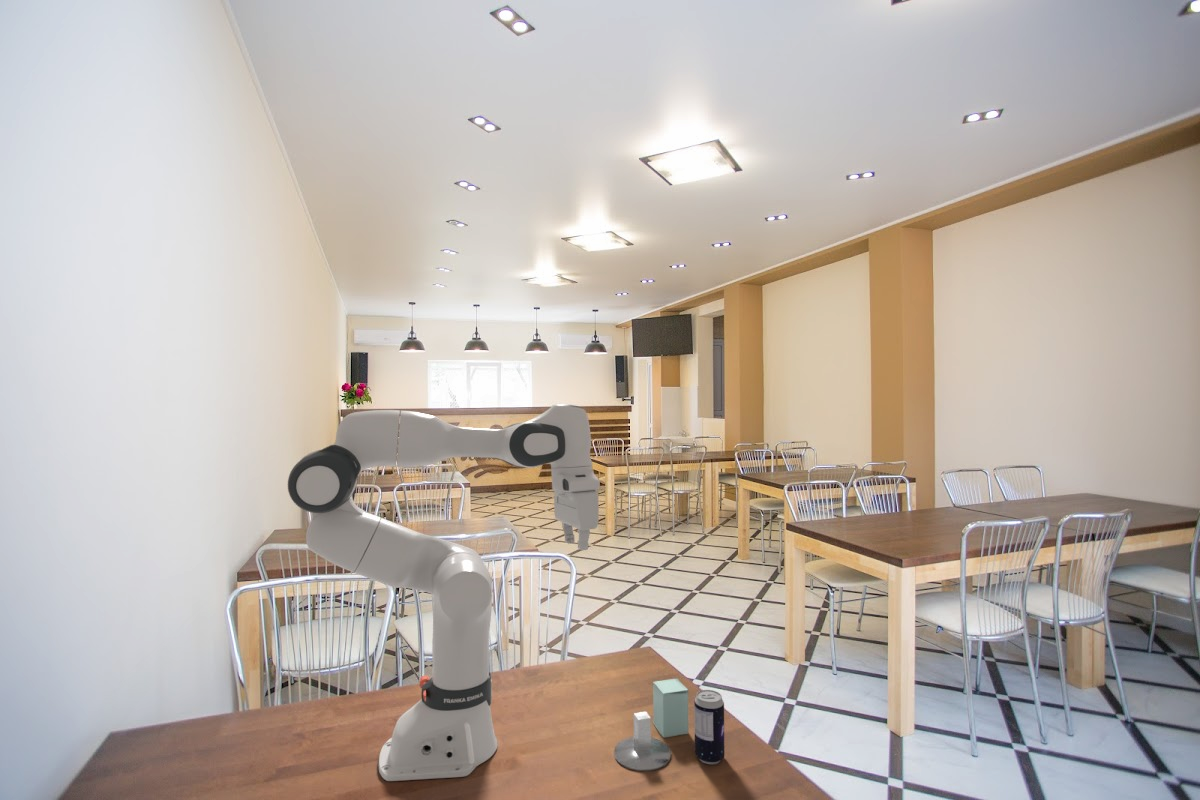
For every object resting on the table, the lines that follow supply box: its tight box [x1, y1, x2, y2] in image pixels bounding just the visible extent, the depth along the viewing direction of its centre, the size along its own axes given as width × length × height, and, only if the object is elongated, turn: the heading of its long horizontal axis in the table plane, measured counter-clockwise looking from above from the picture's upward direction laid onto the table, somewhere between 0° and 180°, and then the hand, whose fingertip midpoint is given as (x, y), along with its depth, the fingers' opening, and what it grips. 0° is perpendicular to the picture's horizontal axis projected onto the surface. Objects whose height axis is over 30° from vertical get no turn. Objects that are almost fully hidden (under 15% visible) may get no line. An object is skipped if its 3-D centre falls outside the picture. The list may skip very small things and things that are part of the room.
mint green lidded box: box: [652, 678, 689, 739], centre depth 126 cm, size 6×6×9 cm
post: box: [613, 711, 672, 772], centre depth 116 cm, size 11×11×8 cm
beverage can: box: [693, 689, 726, 765], centre depth 115 cm, size 6×6×12 cm
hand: (576, 546), depth 125 cm, fingers open, 8 cm apart
